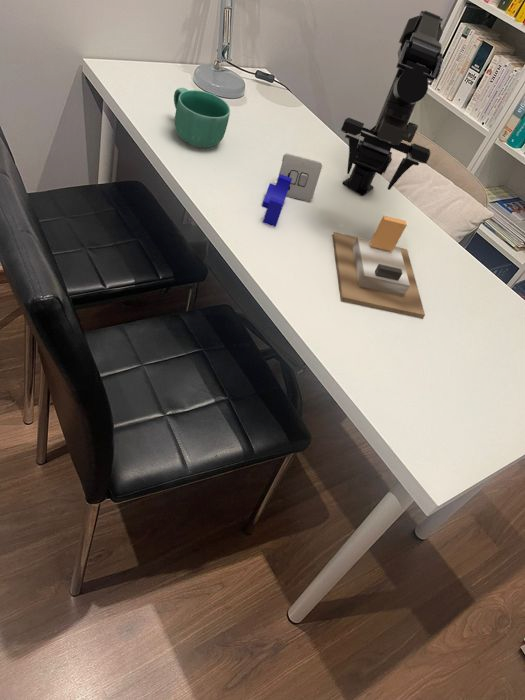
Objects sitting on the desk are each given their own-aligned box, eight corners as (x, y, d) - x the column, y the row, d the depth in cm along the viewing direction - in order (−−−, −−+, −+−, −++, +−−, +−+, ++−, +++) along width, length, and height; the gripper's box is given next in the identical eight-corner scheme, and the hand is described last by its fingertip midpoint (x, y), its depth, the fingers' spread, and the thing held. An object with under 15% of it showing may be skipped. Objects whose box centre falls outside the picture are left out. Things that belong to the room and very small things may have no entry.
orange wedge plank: (370, 246, 123) (370, 242, 124) (392, 251, 124) (391, 247, 125) (384, 219, 118) (383, 215, 119) (406, 225, 119) (405, 220, 120)
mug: (231, 151, 143) (240, 115, 136) (189, 156, 136) (196, 118, 129) (197, 116, 150) (203, 81, 143) (154, 120, 143) (159, 82, 136)
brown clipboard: (332, 235, 130) (341, 213, 125) (405, 252, 133) (416, 231, 129) (340, 300, 115) (352, 278, 111) (422, 318, 118) (436, 297, 114)
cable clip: (266, 194, 134) (273, 171, 130) (284, 200, 135) (292, 178, 130) (256, 220, 126) (263, 197, 122) (275, 227, 126) (283, 204, 122)
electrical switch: (273, 193, 135) (284, 156, 129) (272, 184, 139) (283, 147, 133) (311, 203, 137) (324, 167, 131) (309, 193, 141) (321, 157, 135)
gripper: (358, 84, 108) (326, 166, 114) (450, 121, 109) (414, 200, 114) (356, 91, 119) (327, 165, 124) (439, 124, 119) (407, 196, 124)
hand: (368, 181), depth 121 cm, fingers open, 9 cm apart
